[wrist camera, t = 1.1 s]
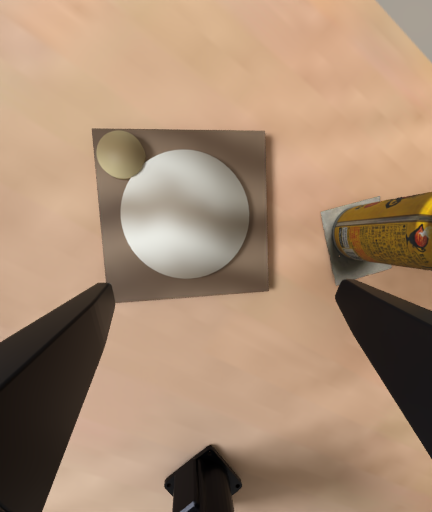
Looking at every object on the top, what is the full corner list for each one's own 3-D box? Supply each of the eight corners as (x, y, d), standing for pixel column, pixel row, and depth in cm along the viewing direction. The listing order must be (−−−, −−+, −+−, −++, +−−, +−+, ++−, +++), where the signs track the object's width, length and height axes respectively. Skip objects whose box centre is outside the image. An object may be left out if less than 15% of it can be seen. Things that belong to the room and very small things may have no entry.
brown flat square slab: (265, 288, 24) (271, 293, 22) (111, 300, 22) (104, 306, 20) (261, 135, 22) (267, 126, 20) (96, 133, 20) (87, 123, 18)
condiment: (378, 196, 24) (557, 157, 12) (390, 267, 25) (567, 295, 13) (319, 212, 24) (449, 187, 12) (333, 285, 25) (468, 330, 13)
